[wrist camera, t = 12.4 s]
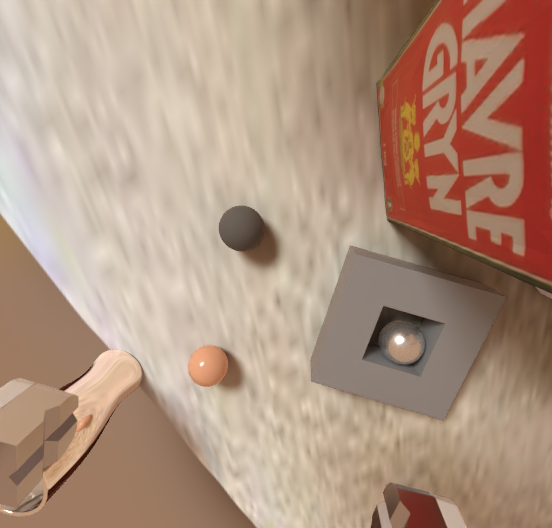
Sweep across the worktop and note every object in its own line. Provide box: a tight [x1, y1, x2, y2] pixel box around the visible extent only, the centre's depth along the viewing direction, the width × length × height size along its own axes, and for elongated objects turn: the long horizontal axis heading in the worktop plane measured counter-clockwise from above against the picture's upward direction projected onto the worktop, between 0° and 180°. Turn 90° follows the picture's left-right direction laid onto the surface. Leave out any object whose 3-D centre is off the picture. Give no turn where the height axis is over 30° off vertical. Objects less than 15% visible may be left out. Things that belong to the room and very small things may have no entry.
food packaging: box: [376, 0, 552, 294], centre depth 17 cm, size 13×9×25 cm
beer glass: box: [0, 350, 142, 516], centre depth 31 cm, size 7×7×15 cm
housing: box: [311, 246, 507, 420], centre depth 31 cm, size 14×14×4 cm
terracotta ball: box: [188, 345, 228, 387], centre depth 34 cm, size 4×4×4 cm
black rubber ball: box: [219, 206, 264, 251], centre depth 30 cm, size 4×4×4 cm
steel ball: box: [379, 320, 425, 365], centre depth 31 cm, size 4×4×4 cm
